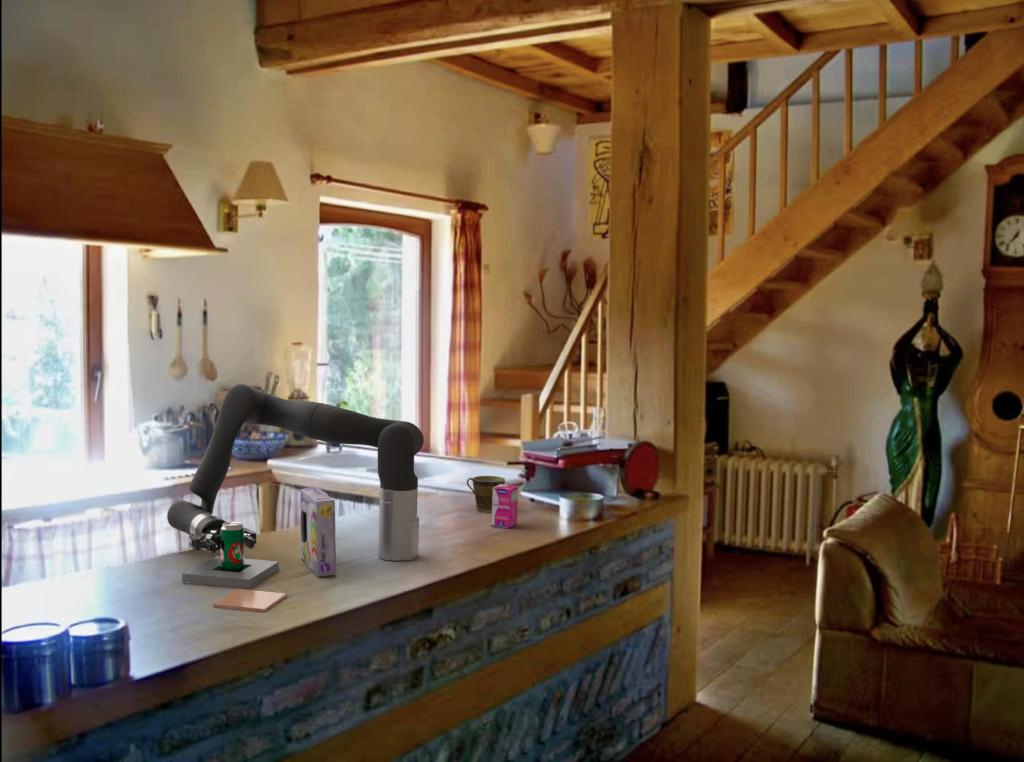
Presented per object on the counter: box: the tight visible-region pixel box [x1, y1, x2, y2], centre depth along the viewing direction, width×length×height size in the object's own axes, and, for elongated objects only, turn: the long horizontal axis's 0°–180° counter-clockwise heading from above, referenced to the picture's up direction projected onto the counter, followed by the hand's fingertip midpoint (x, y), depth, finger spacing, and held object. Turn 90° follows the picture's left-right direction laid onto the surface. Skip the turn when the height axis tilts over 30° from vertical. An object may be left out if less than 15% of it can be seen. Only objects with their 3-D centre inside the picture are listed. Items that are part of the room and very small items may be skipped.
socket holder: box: [181, 555, 280, 590], centre depth 222 cm, size 16×16×2 cm
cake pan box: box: [299, 486, 337, 578], centre depth 232 cm, size 19×5×18 cm, turn 23°
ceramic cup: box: [466, 475, 506, 514], centre depth 302 cm, size 13×10×10 cm
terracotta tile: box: [212, 588, 288, 613], centre depth 204 cm, size 11×11×1 cm
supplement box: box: [491, 484, 519, 530], centre depth 282 cm, size 6×6×12 cm
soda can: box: [219, 521, 245, 572], centre depth 222 cm, size 5×5×12 cm
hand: (233, 546), depth 221 cm, fingers open, 8 cm apart
